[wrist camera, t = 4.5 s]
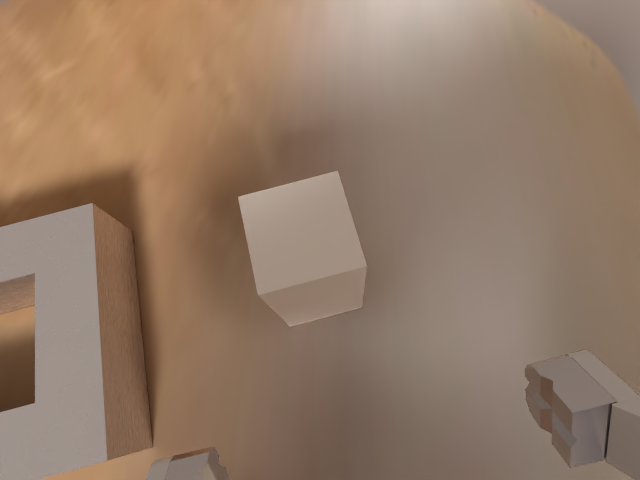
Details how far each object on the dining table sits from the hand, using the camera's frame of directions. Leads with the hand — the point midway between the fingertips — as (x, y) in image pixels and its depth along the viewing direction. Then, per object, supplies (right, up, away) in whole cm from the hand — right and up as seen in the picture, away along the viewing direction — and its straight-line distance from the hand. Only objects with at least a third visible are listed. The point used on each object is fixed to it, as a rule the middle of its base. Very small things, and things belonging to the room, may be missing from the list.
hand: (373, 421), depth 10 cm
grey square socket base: (-17, -2, +12) cm, 21 cm away
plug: (-2, +2, +12) cm, 12 cm away
